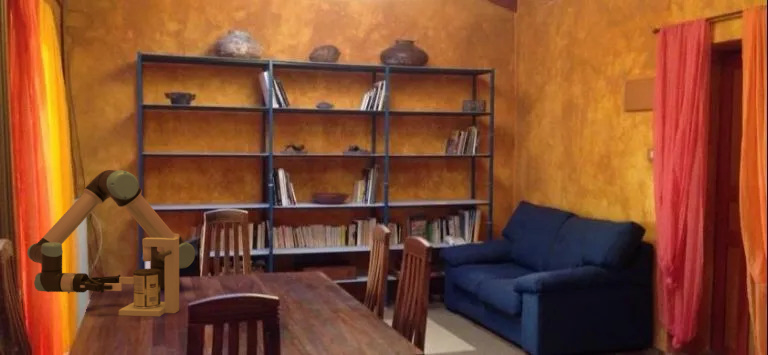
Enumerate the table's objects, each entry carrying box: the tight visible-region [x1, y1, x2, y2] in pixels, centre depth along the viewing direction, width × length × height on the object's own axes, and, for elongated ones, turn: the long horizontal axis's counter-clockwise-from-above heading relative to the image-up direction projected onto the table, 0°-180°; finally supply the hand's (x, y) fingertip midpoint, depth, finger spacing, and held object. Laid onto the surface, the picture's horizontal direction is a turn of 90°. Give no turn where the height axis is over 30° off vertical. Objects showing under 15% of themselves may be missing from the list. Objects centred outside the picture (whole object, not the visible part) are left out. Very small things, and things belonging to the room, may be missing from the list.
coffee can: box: [132, 268, 161, 309], centre depth 276 cm, size 10×10×14 cm
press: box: [118, 237, 180, 317], centre depth 274 cm, size 20×20×29 cm
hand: (128, 283), depth 277 cm, fingers open, 13 cm apart
